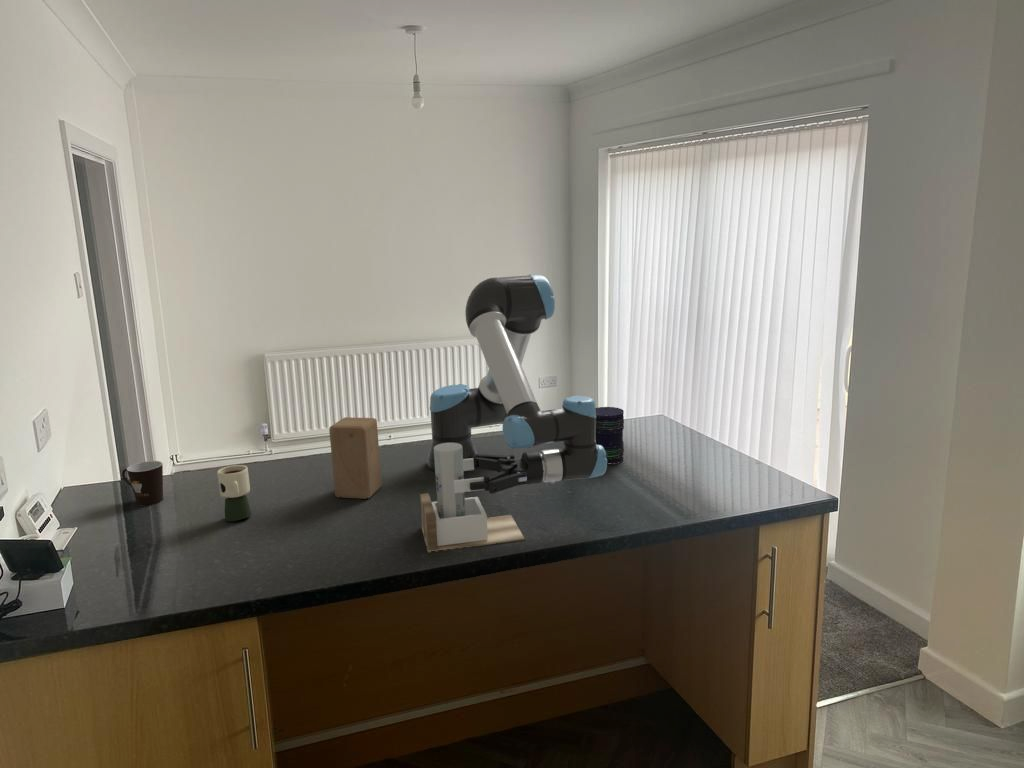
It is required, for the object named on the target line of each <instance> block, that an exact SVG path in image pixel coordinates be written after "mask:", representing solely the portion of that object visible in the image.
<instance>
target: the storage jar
mask: <svg viewBox="0 0 1024 768" xmlns="http://www.w3.org/2000/svg"><path fill="white" fill-rule="evenodd" d="M624 412H625V411H624V410H623V409H622V408H620V407H615V406H614V407H613V406H602V407H599V406H598V407H596V439H595V440H596V444H597V445H601V446H603V448H604V449H605V452H606V458H607V464H608V463H618V462H621V461H622V460H623V459H624V455H625V454H624V452H625V447H624V446H625V444H624V439H623V437H624V429H625V426H624V424H625V419H624V417H625V416H624ZM623 461H624V460H623ZM623 461H622V462H623ZM622 462H621V463H622ZM618 464H619V463H618Z"/></svg>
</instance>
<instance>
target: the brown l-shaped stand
mask: <svg viewBox="0 0 1024 768" xmlns="http://www.w3.org/2000/svg"><path fill="white" fill-rule="evenodd" d="M419 497H420V512H421V514H420V515H421V526H420V527H421V530H422V534H423V539H424V543H425V546H427V547H426V550H427V553H432V552H431V551H435V552H439V551H438V550H443V551H448V550H447V549H450V550H456V549H455V548H458V549H463V547H466V548H472V546H473V547H479V546H488V545H495V544H496V543H497V544H503V543H510V542H519V541H524V540H525V537H524V535H523V533H522V531H521V530H520V528H519V527H518V524H517V523H516V521H515V519H514V518H513V516H512V514H505V515H498V516H492V517H491V516H490V517H488V516H487V532H488V540H482V541H474V542H466V543H458V544H450V545H443V546H438V544H437V528H436V515H435V512H434V509H433V506H432V502H433V501H432V500H431V496H430V493H429V492H426V493H420V494H419Z"/></svg>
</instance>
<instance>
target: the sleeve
mask: <svg viewBox="0 0 1024 768" xmlns="http://www.w3.org/2000/svg"><path fill="white" fill-rule="evenodd" d="M431 502H432V506H433V509H434V512H435V515H436V528H437V544H438V546H443V545H450V544H458V543H466V542H474V541H482V540H488V532H487V518H488V515H487V513H486V510H485V508H484V507H483V505H482V503H481V501H480V498H479V497H478V496H472V497H471V496H470V497H465V516H459V517H451V518H443V519H440V518H439V515H438V506H437V500H436V501H431Z"/></svg>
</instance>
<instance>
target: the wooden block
mask: <svg viewBox="0 0 1024 768" xmlns="http://www.w3.org/2000/svg"><path fill="white" fill-rule="evenodd" d="M378 431H379V430H378V422H377V418H374V417H350V416H349V417H348V416H347V417H346V416H345V417H344V418H342V419H341V418H340V420H338V421H336V422H335V423H333V424H332V425H330V426H329V439H330V440H329V442H330V450H331V451H330V452H331V462H332V463H331V465H332V473H333V483H334V484H333V485H334V495H335V497H336V498H340V497H341V498H344V499H365V500H367V498H368V499H370V498H371V497H372V496H373V495H375V493H377V492H378V490H379V489H380V488H381V487H382V484H383V483H382V473H381V459H380V458H381V457H380V445H379V433H378Z"/></svg>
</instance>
